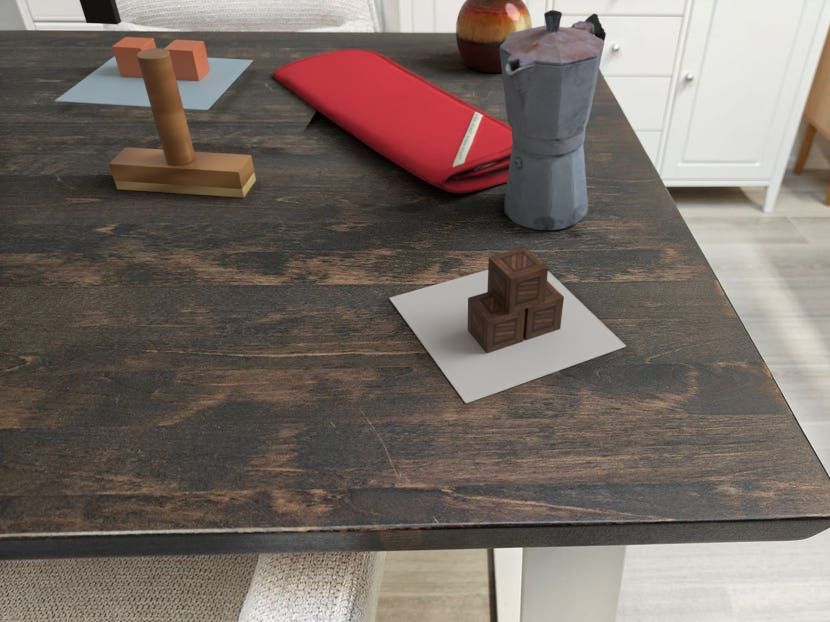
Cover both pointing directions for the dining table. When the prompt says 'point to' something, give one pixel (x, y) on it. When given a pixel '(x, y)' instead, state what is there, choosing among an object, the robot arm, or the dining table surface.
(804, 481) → the dining table surface
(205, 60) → the right orange cube
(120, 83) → the tray
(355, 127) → the dish drying mat
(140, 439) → the dining table surface
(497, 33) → the vase
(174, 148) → the brush
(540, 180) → the moka pot
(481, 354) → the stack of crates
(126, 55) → the orange cube
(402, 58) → the dining table surface
